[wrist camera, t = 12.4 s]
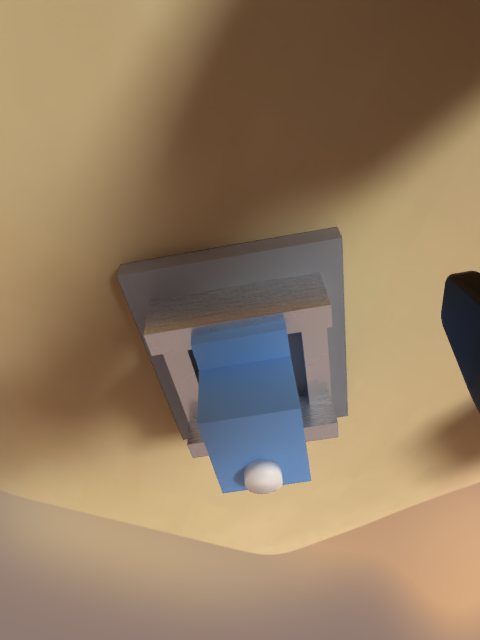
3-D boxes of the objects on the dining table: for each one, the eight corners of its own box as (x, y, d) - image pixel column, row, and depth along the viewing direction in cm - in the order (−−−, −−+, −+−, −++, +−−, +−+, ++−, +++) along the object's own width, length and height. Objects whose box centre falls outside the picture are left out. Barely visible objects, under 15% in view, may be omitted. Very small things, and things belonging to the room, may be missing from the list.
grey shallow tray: (337, 226, 20) (356, 268, 17) (344, 402, 28) (358, 451, 25) (120, 264, 21) (106, 310, 18) (183, 426, 28) (180, 476, 26)
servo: (278, 286, 21) (299, 393, 16) (295, 400, 26) (315, 510, 21) (193, 301, 21) (187, 411, 16) (226, 411, 26) (229, 522, 21)
